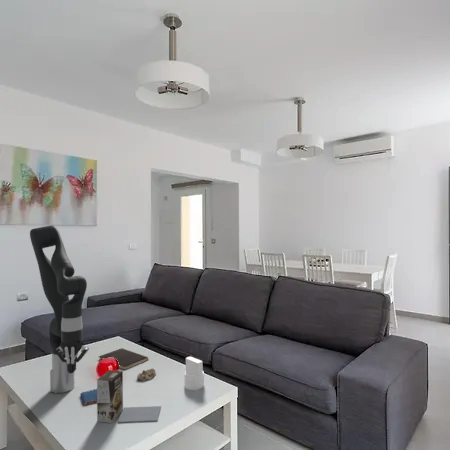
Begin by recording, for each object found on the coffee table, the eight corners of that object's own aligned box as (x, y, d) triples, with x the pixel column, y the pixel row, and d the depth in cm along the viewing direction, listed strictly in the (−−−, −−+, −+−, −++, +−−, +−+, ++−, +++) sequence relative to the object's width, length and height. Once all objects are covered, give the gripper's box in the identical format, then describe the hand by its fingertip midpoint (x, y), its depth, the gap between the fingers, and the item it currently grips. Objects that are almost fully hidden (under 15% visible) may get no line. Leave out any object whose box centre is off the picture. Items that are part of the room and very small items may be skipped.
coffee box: (111, 423, 129) (111, 380, 128) (96, 421, 130) (96, 379, 130) (123, 410, 138) (123, 370, 137) (109, 408, 139) (108, 369, 139)
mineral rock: (145, 378, 161) (134, 370, 165) (143, 387, 161) (132, 378, 166) (161, 371, 170) (150, 363, 174) (159, 379, 170) (148, 371, 175)
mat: (117, 422, 129) (117, 421, 129) (123, 408, 139) (123, 407, 139) (157, 421, 130) (157, 420, 130) (160, 407, 140) (160, 406, 140)
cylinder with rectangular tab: (180, 385, 158) (180, 360, 158) (194, 379, 165) (194, 354, 165) (193, 392, 152) (193, 365, 152) (207, 385, 159) (207, 359, 159)
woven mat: (109, 400, 146) (109, 395, 146) (83, 407, 141) (83, 402, 141) (105, 390, 155) (105, 385, 155) (80, 396, 150) (80, 391, 150)
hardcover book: (124, 370, 176) (124, 366, 176) (98, 360, 189) (98, 356, 189) (148, 360, 188) (148, 356, 188) (122, 351, 202) (122, 347, 202)
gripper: (49, 330, 128) (49, 376, 128) (84, 330, 128) (84, 376, 128) (59, 325, 136) (59, 368, 136) (92, 325, 136) (92, 368, 136)
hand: (71, 372), depth 132 cm, fingers closed
